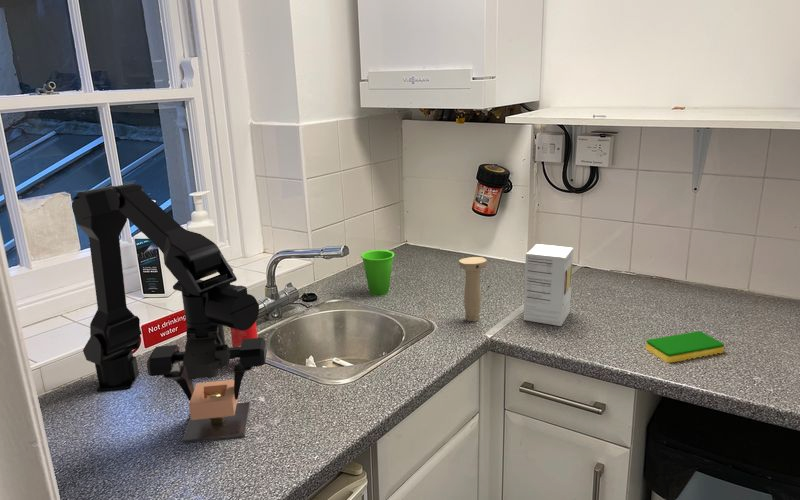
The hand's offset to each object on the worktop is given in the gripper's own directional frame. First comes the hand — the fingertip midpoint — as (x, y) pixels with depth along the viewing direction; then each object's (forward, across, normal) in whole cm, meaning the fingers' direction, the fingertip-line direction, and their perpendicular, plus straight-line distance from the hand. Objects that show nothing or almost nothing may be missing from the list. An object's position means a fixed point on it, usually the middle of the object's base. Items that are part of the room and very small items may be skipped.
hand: (215, 400), depth 102 cm
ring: (+1, 0, 0) cm, 1 cm away
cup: (+5, +35, +57) cm, 67 cm away
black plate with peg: (+4, 0, 0) cm, 4 cm away
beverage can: (+5, +3, +22) cm, 23 cm away
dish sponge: (+5, +94, +9) cm, 95 cm away
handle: (+5, +55, +34) cm, 65 cm away
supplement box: (+5, +73, +32) cm, 80 cm away
